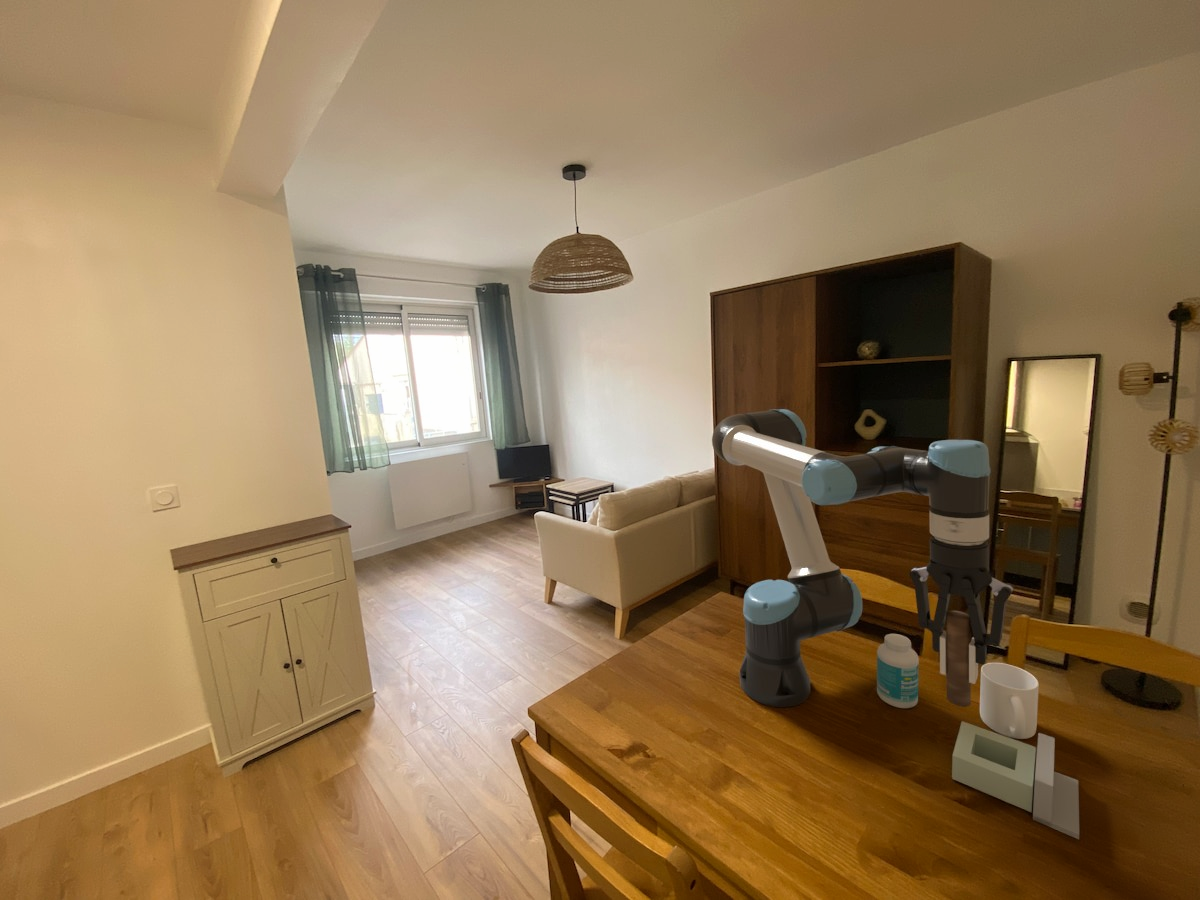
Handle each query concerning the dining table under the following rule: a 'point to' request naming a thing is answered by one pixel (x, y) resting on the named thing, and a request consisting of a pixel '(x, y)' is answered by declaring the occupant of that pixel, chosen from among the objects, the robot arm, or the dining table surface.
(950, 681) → the dowel
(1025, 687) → the mug
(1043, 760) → the grey l-shaped piece
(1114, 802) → the dining table surface
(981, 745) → the block
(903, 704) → the pill bottle
